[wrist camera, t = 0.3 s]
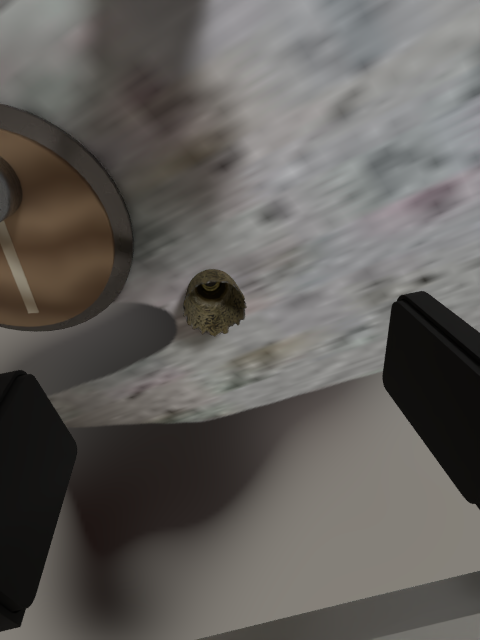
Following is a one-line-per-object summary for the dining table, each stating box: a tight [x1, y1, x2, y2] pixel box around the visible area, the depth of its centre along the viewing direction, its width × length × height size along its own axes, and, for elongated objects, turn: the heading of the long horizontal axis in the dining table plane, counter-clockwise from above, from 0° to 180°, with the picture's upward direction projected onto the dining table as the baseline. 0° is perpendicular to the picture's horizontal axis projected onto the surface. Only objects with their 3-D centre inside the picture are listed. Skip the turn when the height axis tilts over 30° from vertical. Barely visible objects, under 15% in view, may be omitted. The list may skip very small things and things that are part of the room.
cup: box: [183, 269, 247, 336], centre depth 43 cm, size 8×7×8 cm
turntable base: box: [0, 104, 134, 331], centre depth 39 cm, size 26×26×1 cm
